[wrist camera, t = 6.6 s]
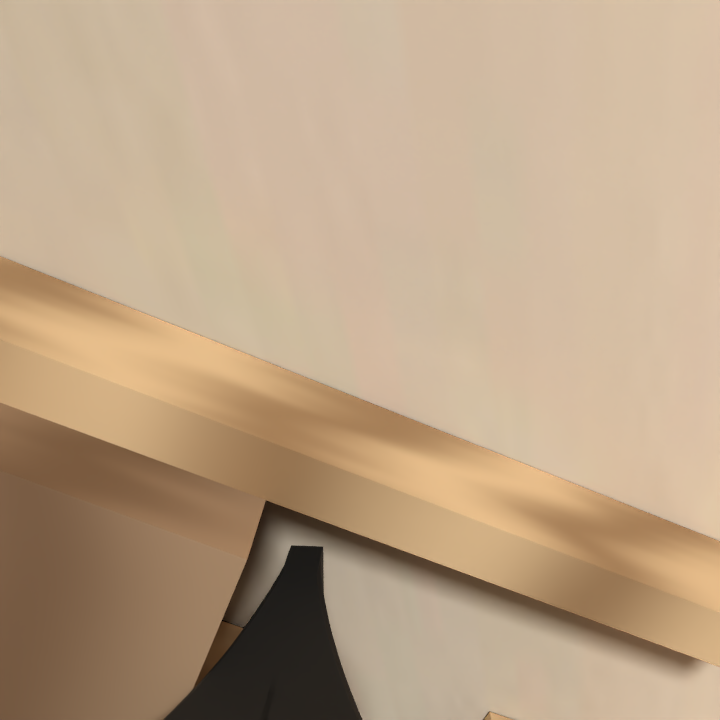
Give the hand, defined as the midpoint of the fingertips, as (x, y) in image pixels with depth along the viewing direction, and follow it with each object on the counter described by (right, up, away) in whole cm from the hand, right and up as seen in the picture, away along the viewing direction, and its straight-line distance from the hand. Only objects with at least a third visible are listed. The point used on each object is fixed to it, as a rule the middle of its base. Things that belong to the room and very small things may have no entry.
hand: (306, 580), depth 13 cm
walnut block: (-4, +2, +1) cm, 4 cm away
